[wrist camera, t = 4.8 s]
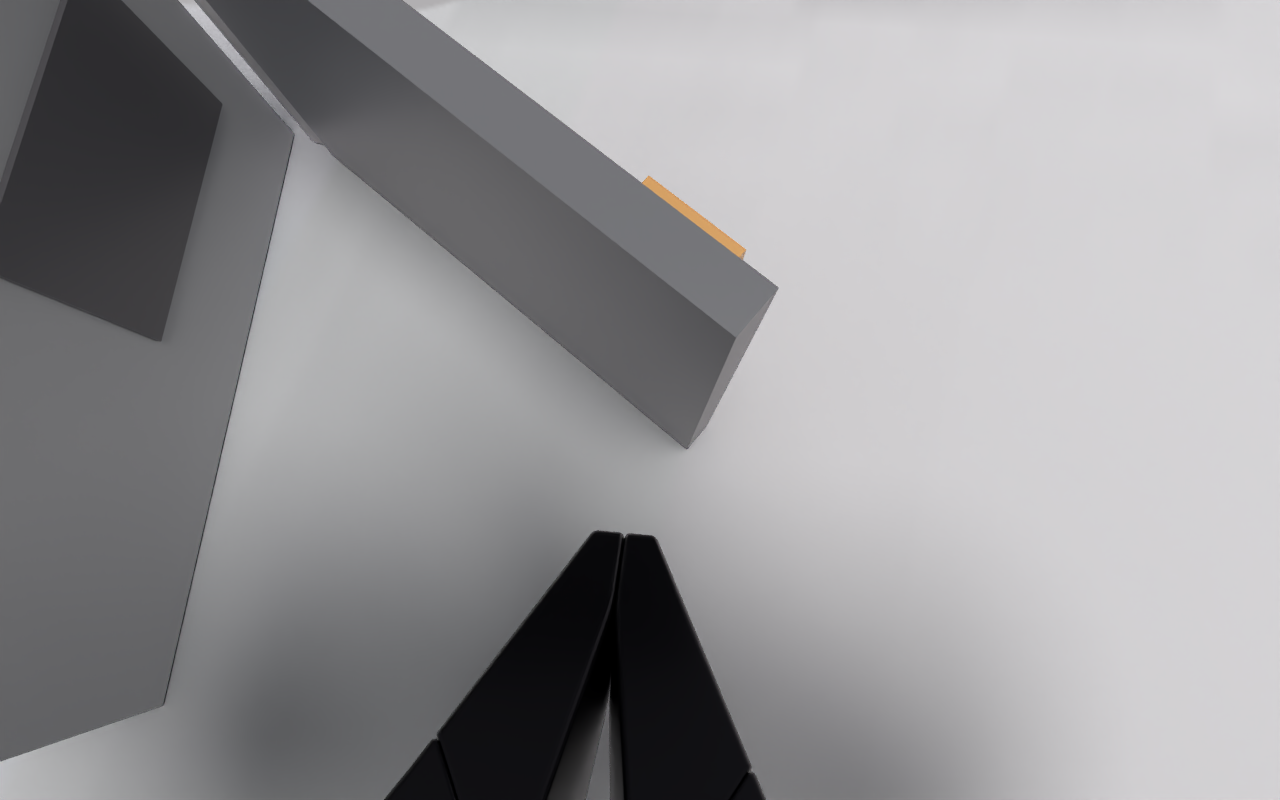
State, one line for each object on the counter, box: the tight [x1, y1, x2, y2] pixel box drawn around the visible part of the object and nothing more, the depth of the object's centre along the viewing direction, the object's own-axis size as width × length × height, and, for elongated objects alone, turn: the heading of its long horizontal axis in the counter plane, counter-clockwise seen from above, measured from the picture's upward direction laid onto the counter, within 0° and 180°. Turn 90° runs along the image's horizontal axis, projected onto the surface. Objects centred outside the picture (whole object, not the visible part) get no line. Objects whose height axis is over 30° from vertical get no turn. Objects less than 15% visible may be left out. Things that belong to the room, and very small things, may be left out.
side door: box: [194, 0, 778, 449], centre depth 13 cm, size 14×2×10 cm, turn 50°
